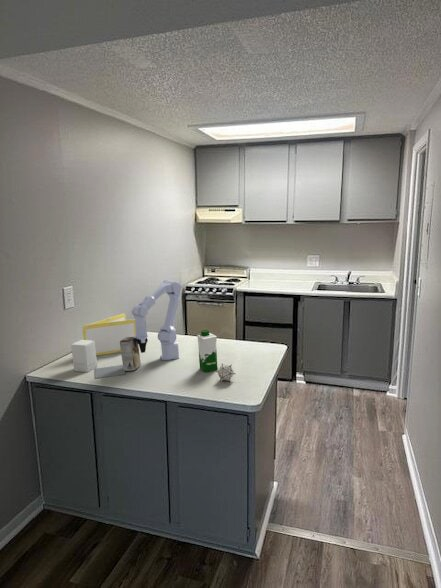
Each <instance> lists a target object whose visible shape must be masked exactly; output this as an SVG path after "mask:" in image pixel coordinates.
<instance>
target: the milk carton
mask: <svg viewBox="0 0 441 588" xmlns="http://www.w3.org/2000/svg"><path fill="white" fill-rule="evenodd" d="M200 332H201V333H200V334H197V343H198V360H199V361H198V362H199V369H200V370H201V371H203V372H205V373H210V372H214V371H218V370H219V369H218V353H217V349H218V348H217V340H218V339H217V338H218V336H217V335H215V334H213V333H211V332H210V330H209V329H205V330H204V329H203V330H200Z"/></svg>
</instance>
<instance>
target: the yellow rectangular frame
mask: <svg viewBox="0 0 441 588" xmlns="http://www.w3.org/2000/svg"><path fill="white" fill-rule="evenodd" d="M126 316H127V315H126V313H124V312H123V313H121V314H118V315H113V316H111V317H107V318H105V319H101V320H97V321H95V322H91V323H89V324H84V325H83V326H81V327H82V336H83V337H82V340H91V341H95V350H96V356H102V355H103V356H104V355H108V354H109V355H110V354H117V353H121V347H120V341H121V340H123V339H125V338H126V337H134V336H136V328H135V318H133V319H132V318H131V319H127V317H126Z"/></svg>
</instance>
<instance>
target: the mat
mask: <svg viewBox="0 0 441 588" xmlns="http://www.w3.org/2000/svg"><path fill="white" fill-rule="evenodd" d="M94 369H95V371H94V373H95V374H94V375H95V376H94V379H96V380H97V379H103V378H109V377H110V378H111V377H118V376H125V375H126V371H124V370H123V364H121V365H114V366H107V367H98V368H97V367H96V368H94Z"/></svg>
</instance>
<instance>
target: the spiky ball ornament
mask: <svg viewBox="0 0 441 588" xmlns="http://www.w3.org/2000/svg"><path fill="white" fill-rule="evenodd" d="M232 366H233V365H232V364H230V365H227V364H223V363H221V366H220V367H219V369H218V370H215V373H217V375H218V376H219V378H220V379H219V381H220V382H221V381H227V382H229V383H231V382H230V380H232V378H233V376H234V375H236V373H235V372H234V370H233V368H232Z"/></svg>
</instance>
